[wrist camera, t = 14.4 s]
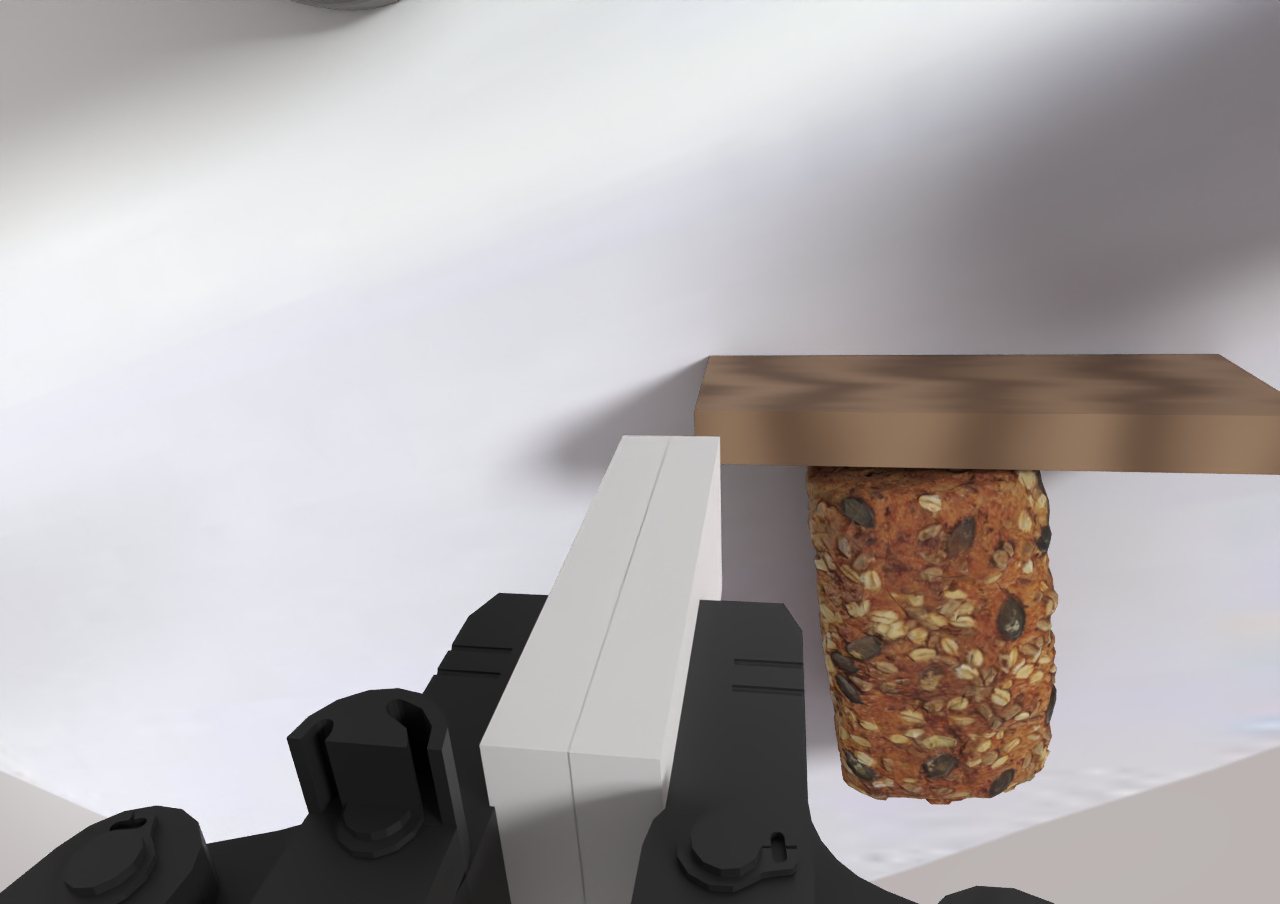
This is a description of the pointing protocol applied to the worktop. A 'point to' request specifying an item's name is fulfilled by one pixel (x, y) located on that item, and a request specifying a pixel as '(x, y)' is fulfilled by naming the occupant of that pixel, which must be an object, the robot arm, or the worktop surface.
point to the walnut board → (993, 412)
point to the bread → (935, 626)
